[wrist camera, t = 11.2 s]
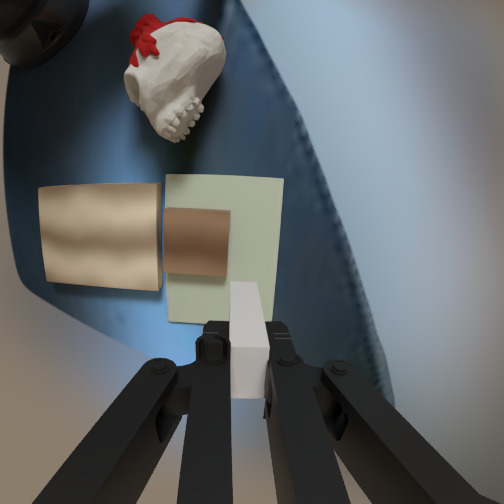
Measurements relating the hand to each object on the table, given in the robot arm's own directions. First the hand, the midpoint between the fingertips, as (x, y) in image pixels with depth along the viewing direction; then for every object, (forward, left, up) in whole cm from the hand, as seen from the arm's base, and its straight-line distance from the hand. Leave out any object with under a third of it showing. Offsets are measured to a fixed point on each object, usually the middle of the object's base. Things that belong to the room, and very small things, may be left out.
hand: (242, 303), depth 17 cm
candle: (-19, -8, -18) cm, 27 cm away
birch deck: (0, -17, -18) cm, 24 cm away
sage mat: (+2, -2, -18) cm, 18 cm away
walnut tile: (0, -5, -17) cm, 18 cm away
